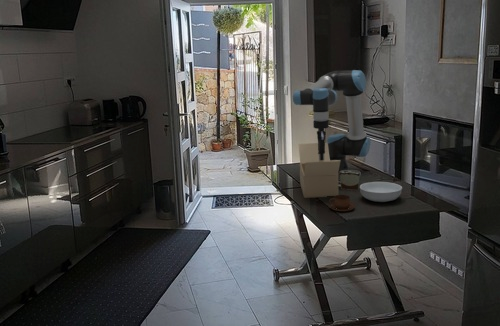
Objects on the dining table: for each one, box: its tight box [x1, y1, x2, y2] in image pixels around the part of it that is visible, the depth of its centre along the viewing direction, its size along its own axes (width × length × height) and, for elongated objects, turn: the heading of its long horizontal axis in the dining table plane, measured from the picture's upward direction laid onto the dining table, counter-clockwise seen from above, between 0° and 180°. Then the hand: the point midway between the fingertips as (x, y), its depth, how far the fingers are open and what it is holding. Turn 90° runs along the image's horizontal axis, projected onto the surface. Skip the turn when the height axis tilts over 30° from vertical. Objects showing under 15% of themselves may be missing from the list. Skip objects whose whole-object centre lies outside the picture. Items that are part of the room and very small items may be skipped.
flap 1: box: [298, 142, 330, 164], centre depth 281 cm, size 17×14×1 cm
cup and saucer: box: [328, 194, 356, 212], centre depth 232 cm, size 12×12×6 cm
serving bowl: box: [359, 181, 403, 203], centre depth 243 cm, size 21×21×7 cm
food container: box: [338, 169, 362, 191], centre depth 264 cm, size 12×6×10 cm, turn 65°
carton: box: [299, 162, 339, 199], centre depth 265 cm, size 18×28×12 cm, turn 178°
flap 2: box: [304, 160, 340, 177], centre depth 244 cm, size 17×14×1 cm
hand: (321, 165), depth 243 cm, fingers closed
